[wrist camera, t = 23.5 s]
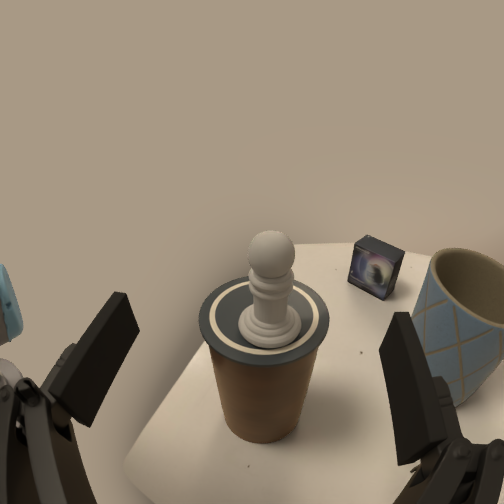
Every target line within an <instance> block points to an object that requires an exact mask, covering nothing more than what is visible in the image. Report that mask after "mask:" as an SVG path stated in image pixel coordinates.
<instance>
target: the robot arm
mask: <svg viewBox="0 0 504 504" xmlns="http://www.w3.org/2000/svg"><path fill="white" fill-rule="evenodd" d="M22 330H23V320H22V316H21V313H20V309H19V305H18V302H17V299H16V296H15V293H14V290H13V287H12V284H11V281H10V278H9V275H8V273H7V271H6V269H5V267H4V265H3V264H0V346H1V345H3V344H5V343H7V342H11V340H12V339H13V338H15V337H17V336H18V335H20V334H21V332H22ZM139 332H140V330H139V327H138V324H137V322H136V319H135V317H134V314H133V311H132V309H131V306H130V303H129V300H128V297H127V294H126V293H120V292H114V293H113V294H112V295H111V297H110V298H109V299H108V301H107V302H106V303H105V305H104V306H103V308H102V309H101V310H100V312H99V313H98V314H97V316H96V317H95V318H94V320H93V321H92V323H91V324H90V326H89V327H88V328H87V330H86V331H85V333H84V334H83V335H82V337H81V338H80V340H79V341H78V343H77V344H74V343H72V344H71V345H70V346H68V347H67V348H66V349H65V350H64V352H63V353H62V354H61V356H60V359H58V361H57V362H56V365H54V367H53V368H52V370H51V371H50V373H49V374H48V376H47V378H46V379H45V381H44V382H43V384H42V386H41V387H40V388H38V387H37V385H36V384H35V383H34V382H33V381H32V380H31V379H30V378H22V379H20V380H19V381H18V382H17V383H16V385H15V386H14V389H13V388H12V387H11V386H10V385H9V384H8V381H7V379H6V378H5V376H4V375H3V374H2V373H1V371H0V504H97V502H96V500H95V497H94V495H93V492H92V490H91V487H90V484H89V481H88V478H87V475H86V472H85V469H84V466H83V463H82V459H81V456H80V453H79V449H78V445H77V441H76V437H75V433H74V429H73V424H72V422H71V420H70V419H71V417H73V418H74V419H75V420H76V421H77V422H79V423H81V424H83V425H85V426H87V427H89V428H90V427H91V425H92V423H93V421H94V418H95V416H96V414H97V412H98V410H99V408H100V406H101V404H102V402H103V400H104V398H105V395H106V394H107V392H108V390H109V388H110V386H111V384H112V382H113V380H114V378H115V376H116V374H117V372H118V370H119V368H120V367H121V365H122V363H123V361H124V359H125V357H126V355H127V353H128V352H129V350H130V348H131V346H132V344H133V343H134V341H135V339H136V337H137V335H138V334H139ZM379 354H380V358H381V363H382V367H383V372H384V377H385V382H386V387H387V392H388V398H389V403H390V409H391V415H392V422H393V429H394V436H395V444H396V453H397V462H398V466H401V465H406V464H410V463H414V462H416V461H417V460H419V459H420V460H421V464H419V465H418V466H416V467H414V468H413V469H412V470H411V471H410V472H411V473H412V472H414V471H415V473H414V474H413V476H412V477H411V479H410V480H409V482H408V483H407V485H406V486H405V488H404V489H403V491H402V492H401V493H400V495H399V496H398V497H397V499H396V500H395V502H394V503H393V504H497V503H498V500H499V496H500V492H501V487H502V483H503V478H504V441H503V440H501V439H495V440H493V441H492V442H491V443H489V444H472V443H471V442H470V441H469V440H468V439H467V438H464V437H463V435H462V433H461V429H460V425H459V421H458V417H457V413H456V410H455V406H454V405H453V399H452V397H451V393H450V390H449V386H448V384H447V383H446V381H445V380H444V379H443V377H442V376H436V377H432V375H431V372H430V369H429V366H428V363H427V360H426V357H425V354H424V351H423V348H422V345H421V343H420V340H419V337H418V335H417V332H416V329H415V327H414V324H413V322H412V319H411V317H410V314H409V312H395V313H394V315H393V318H392V320H391V323H390V325H389V328H388V330H387V332H386V335H385V337H384V339H383V342H382V344H381V346H380V348H379ZM16 422H18V423H20V425H19V427H17V426H16Z"/></svg>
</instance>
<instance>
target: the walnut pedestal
mask: <svg viewBox="0 0 504 504" xmlns="http://www.w3.org/2000/svg"><path fill="white" fill-rule="evenodd" d="M209 349H210V354H211V359H212V363H213V368H214V373H215V378H216V382H217V387H218V391H219V395H220V400H221V404H222V408H223V412H224V416H225V420H226V423H227V425H228V427H229V428H230V429H231V431H232V432H233V433H234V434H235V435H237V436H238V437H240V438H242V439H243V440H246V441H249V442H253V443H271V442H275V441H278V440H280V439H282V438H284V437H286V436H287V435H288V434H289V433H290V432H292V430H293V429H294V428H295V426H296V425H297V423H298V420H299V417H300V414H301V410H302V407H303V403H304V400H305V397H306V393H307V389H308V386H309V382H310V378H311V375H312V371H313V367H314V363H315V359H316V355H317V351H318V348H317V349H315V350H314V351H313V352H312V353H311V354H309V355H308V356H306V357H305V358H303V359H301V360H299V361H296V362H294V363H291V364H288V365H284V366H278V367H270V368H259V367H250V366H245V365H241V364H238V363H235V362H232V361H230V360H228V359H226V358H224V357H222V356H221V355H219V354H218V353H216V352H215V351H214V350H213V349H212V348H211V347H210V346H209Z"/></svg>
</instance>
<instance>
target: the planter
mask: <svg viewBox="0 0 504 504" xmlns="http://www.w3.org/2000/svg"><path fill="white" fill-rule="evenodd" d="M411 319H412V322H413V324H414V327H415V329H416V332H417V335H418V337H419V340H420V343H421V345H422V348H423V351H424V354H425V357H426V360H427V363H428V366H429V369H430V372H431V375H432V377H436V376H442V377H443V379H444V380H445V381H446V383H447V384H448V386H449V390H450V393H451V397H452V399H453V405H454V406H455V407H456V406H458V405H460V404H461V403H463V402H464V401H465V400H467V399H468V398H469V397H470V396H471V395H472V394H473V393H474V392H475V391H476V390H477V389H478V387H479V386H480V385H481V384H482V383H483V382H484V381H485V380H486V379H487V378H488V376H489V375H490V374H491V373H492V372H493V371H494V370H495V368H496V367H497V366H498V365H499V364H500V363H501V361H502V360H503V359H504V266H503V265H502V264H500V263H499V262H497V261H495V260H494V259H492V258H490V257H488V256H485V255H483V254H481V253H478V252H475V251H472V250H468V249H461V248H447V249H443V250H440V251H438V252H436V253H435V254H434V255H433V257H432V258H431V261H430V264H429V267H428V270H427V274H426V277H425V280H424V283H423V286H422V289H421V291H420V294H419V297H418V300H417V303H416V305H415V308H414V311H413V314H412V316H411Z"/></svg>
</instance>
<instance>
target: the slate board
mask: <svg viewBox="0 0 504 504" xmlns="http://www.w3.org/2000/svg"><path fill="white" fill-rule="evenodd" d="M249 282H250V280H249V276H247V277H242V278H238V279H235V280H232V281H230V282H227V283H225V284H223V285H221V286H220V287H218V288H217V289H215V290H214V291H213V292H212V293H211V294H210V295H209V296H208V297H207V298H206V299H205V301H204V303H203V304H202V307H201V309H200V313H199V326H200V330H201V333H202V336H203V338H204V339H205V341H206V342H207V344H208V345H209V346H210V347H211V348H212V349H213V350H214V351H215V352H216V353H218V354H219V355H221V356H222V357H224V358H226V359H228V360H230V361H232V362H235V363H238V364H241V365H245V366H250V367H259V368H270V367H278V366H284V365H288V364H291V363H294V362H296V361H299V360H301V359H303V358H305V357H306V356H308V355H309V354H311V353H312V352H313V351H314V350H315V349H317V348H318V347H319V345H320V344H321V343H322V341H323V340H324V338H325V336H326V334H327V331H328V327H329V313H328V309H327V307H326V304H325V303H324V301H323V300H322V298H321V297H320V296H319V295H318V294H317V293H316V292H315V291H314V290H313V289H311V288H310V287H308V286H306V285H305V284H303V283H301V282H298V281H296V280H293V290H292V292H291V293H290V295H288V303H287V305H289V306H291V307H292V308H293V309H295V310H296V311H297V313H298V314H299V316H300V319H301V330H300V332H299V334H298V336H297V337H296V338H295V339H294V340H293V341H292V342H291V343H289V344H287V345H285V346H282V347H278V348H262V347H258V346H255V345H253V344H251V343H249V342H248V341H247V340H246V339H245V338H244V337H243V336H242V334H241V333H240V330H239V327H238V322H239V318H240V315H241V313H242V312H243V311H244V310H245V309H246V308H247V307H249V306H250V305H252V304H254V299H253V294H252V293H251V291H250V289H249Z"/></svg>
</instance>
